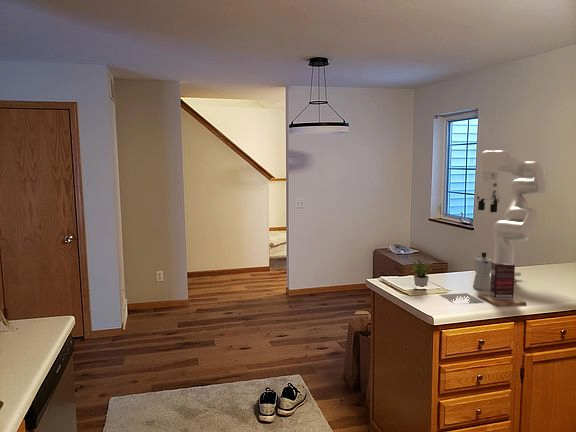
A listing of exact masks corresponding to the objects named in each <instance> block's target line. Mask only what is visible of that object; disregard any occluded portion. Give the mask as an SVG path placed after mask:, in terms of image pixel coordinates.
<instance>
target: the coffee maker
mask: <svg viewBox="0 0 576 432" xmlns="http://www.w3.org/2000/svg"><path fill="white" fill-rule="evenodd" d="M473 261H474V272H475V275H474V279H473V284H472V288H473V289H475V290H479V291H490V289H491V279H490V275H491V266H492V263H494V259H491V258H488V257H487V252H481V256H478V257H474V259H473Z"/></svg>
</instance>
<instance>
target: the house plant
mask: <svg viewBox="0 0 576 432" xmlns="http://www.w3.org/2000/svg"><path fill="white" fill-rule="evenodd" d="M416 258H417V262H416V260H415V259H414V258H413V257H411V259H412V260H411V259H409V262H411V265H413V266H412V269H410V273H412V272H415V273H416V274H414V275H413V278H414V279H413V280H414V286H415V285H416V286H420V287H424V286H427V287H428V282H429V276H428V274H429V273H432V271H433V269H431V268H428V267H429V266H431V265H432V264H433V263H434V262H436V260H435V261H432V262H430V263H429V260H426V262H425V264H424V265H423V261H424V260H421V261H420V259H419V257H418V256H416ZM423 258H425V256H424V257H423ZM407 269H409V268H407Z"/></svg>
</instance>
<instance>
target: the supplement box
mask: <svg viewBox="0 0 576 432" xmlns="http://www.w3.org/2000/svg"><path fill="white" fill-rule="evenodd" d="M515 267H516V265H515V264H512V263H494V262H493V263H492V266H491V273H490V275H491V289H490V290H489V291H490V292H489V294H490V297H492V298H493V299H513V297H514V295H515V293H514V292H515V289H514V288H515V282H514V272H516V271H515V269H516V268H515Z"/></svg>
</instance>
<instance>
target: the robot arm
mask: <svg viewBox="0 0 576 432" xmlns="http://www.w3.org/2000/svg"><path fill="white" fill-rule="evenodd" d="M478 159H479V160H478V161H479V163H480V181H479V186H478V192H476V197H477V203H478V206H477V210H478V211H485V208H486V207H485V206H486V202H485V201H488V200H489V201H490V203H491V204H490V209H489V212H490V213H497V212H498V204H499V202H500V199H501V194H500V184H499V179H498V172H499V171H500V172H504V173H507V174H509V175H511V176H513V177H517V178H516V179H513V180H512V181H511V184H510V195H511V201H510V204H509V206H508V207H507V208H506V211H505V212H504V215H503V220H498V221H496V222H495V223H494V225H493V227H492V228H493V237H494V246H493V247H494V248H493V251H494V253H493V263H512V264H514V262H515V245H514V243H513V241H520V242H526V241H527V240H528V239H529V238H530V236H531V234H532V233H533V232H534V229H535V228H536V225H537V223H538V221H539V213H538V210H537V209H535V208H533V207H529V205H530V203H529V201H528V199H527V197H525V196H524V195H537V196H540V195H543V194H544V193H545V191H546V189H547V188H546V187H547V183H546V179H545V175H544V171H543V169H542V166H541V164H540V163H539V162H538V161H535V160H529V161H528V160H527V161H526V160H525V161H524V160H521V159H519V158H517V157H515V156H512V155H511V153H510V152H508V151H507V150H485V151H484V150H483V151H482V152H481V153H480V154H479V157H478ZM514 265H515V264H514ZM521 276H522V273H521V272H520V271H519V272H516V271H515V272H514V283H515V282H516V281H517V278H516V277H521ZM490 279H491V274H490Z"/></svg>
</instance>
